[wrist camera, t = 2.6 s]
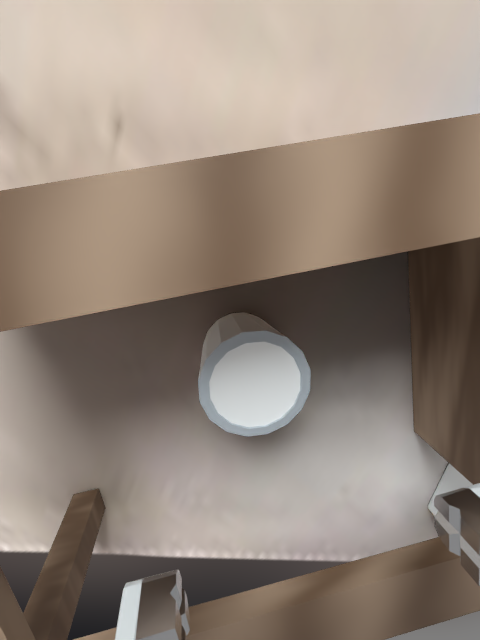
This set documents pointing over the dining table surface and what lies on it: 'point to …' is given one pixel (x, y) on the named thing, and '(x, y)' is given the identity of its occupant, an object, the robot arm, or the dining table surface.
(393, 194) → the box
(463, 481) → the medicine bottle
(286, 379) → the shot glass
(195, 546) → the dining table surface
